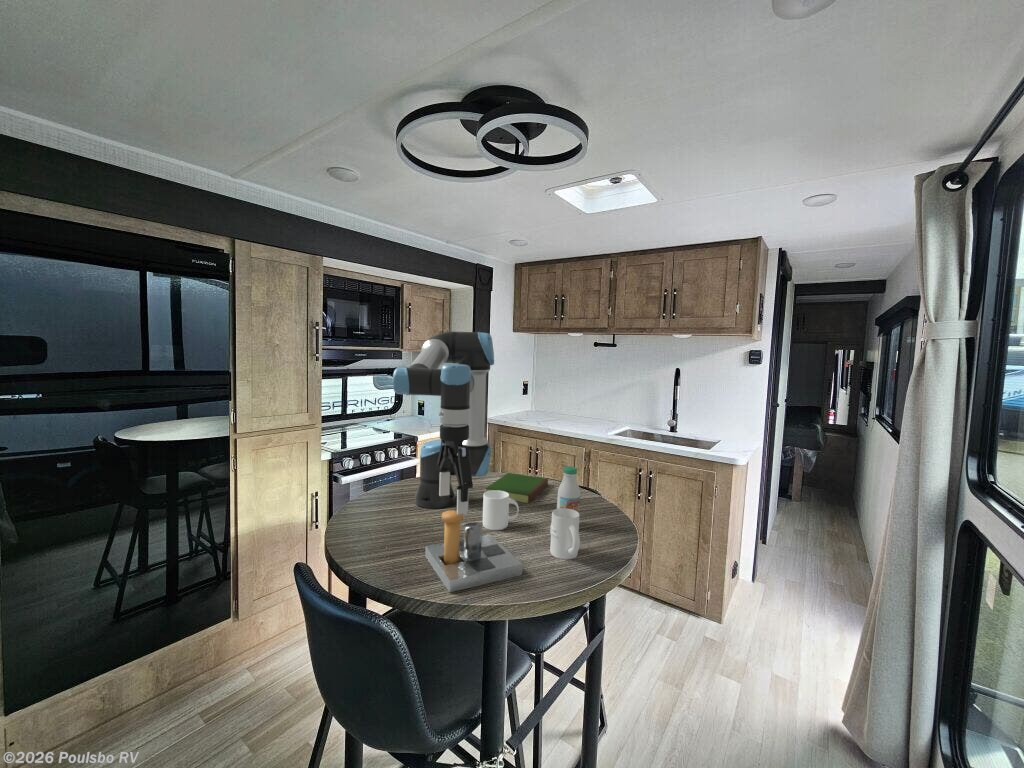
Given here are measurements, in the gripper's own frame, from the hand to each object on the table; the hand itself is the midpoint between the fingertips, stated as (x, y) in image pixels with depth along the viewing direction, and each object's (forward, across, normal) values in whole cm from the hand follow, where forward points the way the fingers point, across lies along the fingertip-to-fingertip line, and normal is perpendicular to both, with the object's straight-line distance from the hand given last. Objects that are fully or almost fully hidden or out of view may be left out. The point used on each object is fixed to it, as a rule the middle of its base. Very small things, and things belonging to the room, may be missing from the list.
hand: (452, 503), depth 114 cm
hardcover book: (+20, -50, +48) cm, 72 cm away
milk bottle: (+19, -11, +46) cm, 51 cm away
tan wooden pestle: (+18, +1, 0) cm, 18 cm away
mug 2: (+18, +7, +33) cm, 38 cm away
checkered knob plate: (+18, +1, +6) cm, 19 cm away
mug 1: (+19, -20, +25) cm, 37 cm away
